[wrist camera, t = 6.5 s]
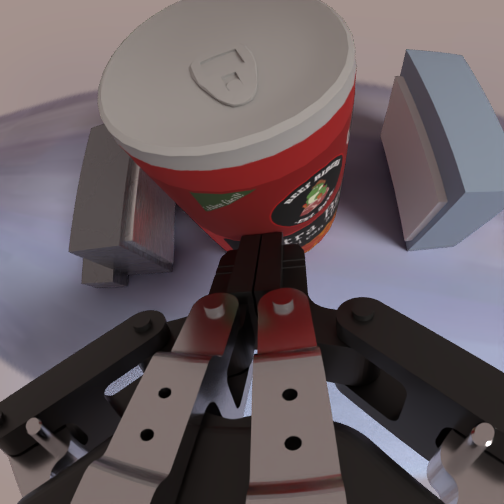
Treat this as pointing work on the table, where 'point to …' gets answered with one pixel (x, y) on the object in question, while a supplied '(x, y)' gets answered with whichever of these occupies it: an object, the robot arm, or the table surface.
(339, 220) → the table surface
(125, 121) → the canned food
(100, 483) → the robot arm
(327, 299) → the table surface
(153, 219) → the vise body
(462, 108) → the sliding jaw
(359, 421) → the table surface
